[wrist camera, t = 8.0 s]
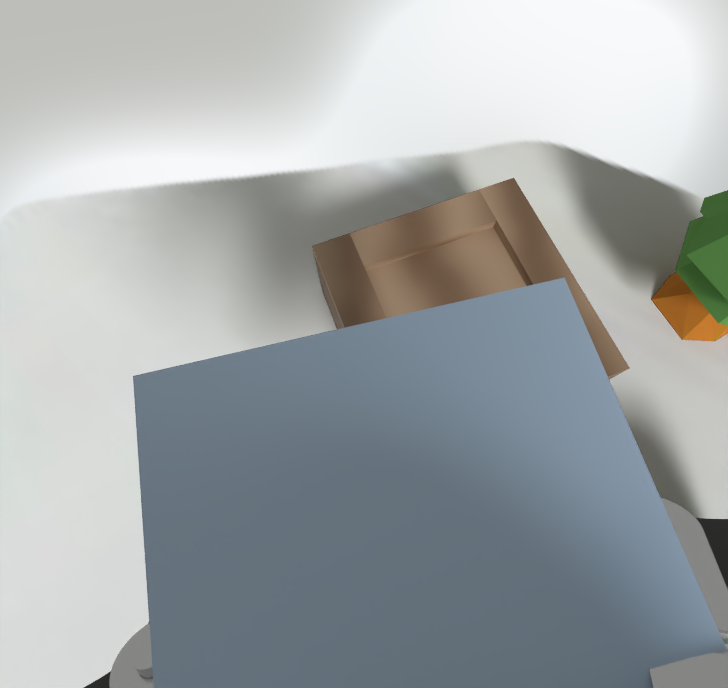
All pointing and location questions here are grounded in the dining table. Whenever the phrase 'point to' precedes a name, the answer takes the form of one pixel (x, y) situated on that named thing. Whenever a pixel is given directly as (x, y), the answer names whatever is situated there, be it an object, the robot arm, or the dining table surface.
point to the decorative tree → (700, 277)
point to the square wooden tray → (449, 262)
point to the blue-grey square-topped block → (410, 511)
